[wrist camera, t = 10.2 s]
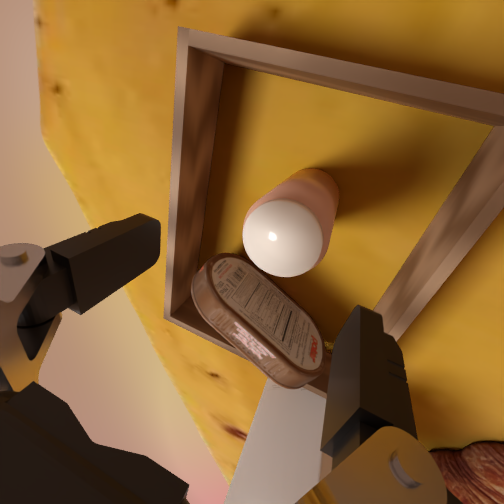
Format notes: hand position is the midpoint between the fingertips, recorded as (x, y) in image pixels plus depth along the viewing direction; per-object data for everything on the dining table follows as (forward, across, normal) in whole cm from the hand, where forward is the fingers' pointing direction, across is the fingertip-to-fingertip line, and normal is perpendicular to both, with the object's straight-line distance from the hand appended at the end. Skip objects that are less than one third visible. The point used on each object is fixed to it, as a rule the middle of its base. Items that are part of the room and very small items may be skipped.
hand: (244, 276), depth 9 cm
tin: (+14, 0, +12) cm, 19 cm away
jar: (+14, 0, +1) cm, 14 cm away
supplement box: (+14, -9, +24) cm, 29 cm away
